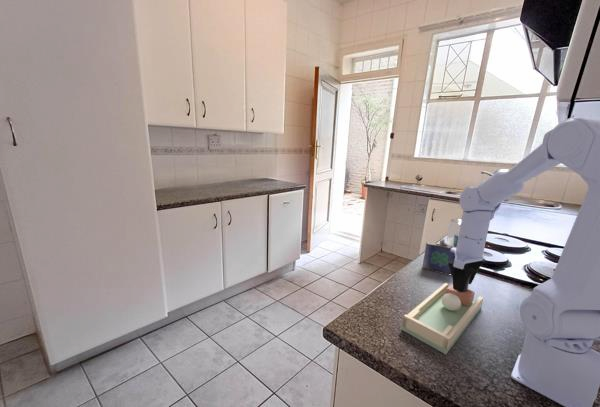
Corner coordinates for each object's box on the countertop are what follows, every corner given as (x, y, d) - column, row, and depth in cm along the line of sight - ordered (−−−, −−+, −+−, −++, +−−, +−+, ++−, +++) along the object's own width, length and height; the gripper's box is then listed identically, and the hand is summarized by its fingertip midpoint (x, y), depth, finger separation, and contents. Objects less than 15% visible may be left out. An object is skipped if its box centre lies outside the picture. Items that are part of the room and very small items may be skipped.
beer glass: (468, 267, 90) (477, 225, 87) (446, 265, 91) (453, 223, 88) (460, 259, 97) (468, 220, 93) (440, 257, 98) (447, 218, 95)
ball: (461, 310, 64) (464, 295, 63) (456, 316, 61) (459, 301, 60) (444, 302, 67) (446, 288, 66) (437, 308, 64) (440, 293, 63)
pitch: (481, 307, 67) (483, 295, 66) (445, 354, 51) (448, 338, 50) (443, 292, 74) (445, 281, 73) (401, 329, 58) (403, 315, 57)
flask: (421, 268, 88) (426, 238, 85) (422, 265, 90) (427, 235, 88) (453, 276, 84) (459, 244, 81) (453, 272, 86) (459, 241, 84)
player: (472, 300, 68) (478, 275, 66) (468, 306, 65) (473, 280, 64) (451, 291, 72) (455, 267, 70) (445, 297, 69) (450, 272, 67)
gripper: (463, 227, 73) (455, 272, 76) (443, 237, 63) (434, 289, 66) (494, 234, 68) (484, 282, 71) (477, 246, 58) (466, 301, 61)
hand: (462, 286), depth 68 cm, fingers open, 6 cm apart
